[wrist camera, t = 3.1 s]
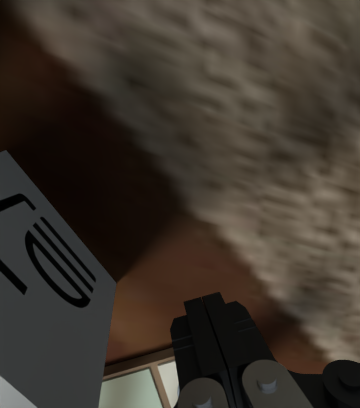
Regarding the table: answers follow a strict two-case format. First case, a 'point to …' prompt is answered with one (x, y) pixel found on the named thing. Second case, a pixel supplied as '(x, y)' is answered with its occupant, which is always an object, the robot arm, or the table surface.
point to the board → (141, 382)
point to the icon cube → (48, 303)
